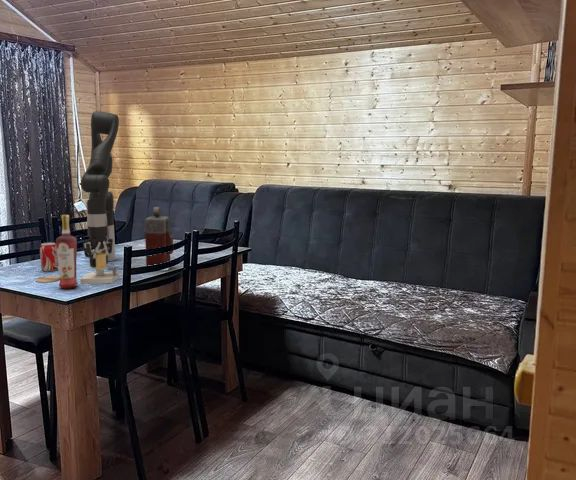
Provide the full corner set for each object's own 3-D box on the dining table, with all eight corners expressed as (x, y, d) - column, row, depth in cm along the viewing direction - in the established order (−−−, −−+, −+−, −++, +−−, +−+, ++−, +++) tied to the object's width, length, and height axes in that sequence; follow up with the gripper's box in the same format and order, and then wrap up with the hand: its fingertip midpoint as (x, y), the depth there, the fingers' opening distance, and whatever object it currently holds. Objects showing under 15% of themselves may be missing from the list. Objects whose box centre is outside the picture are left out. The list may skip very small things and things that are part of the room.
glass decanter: (171, 271, 230) (170, 208, 226) (146, 270, 230) (144, 207, 225) (175, 266, 239) (174, 206, 234) (151, 266, 239) (149, 205, 234)
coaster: (41, 277, 216) (41, 276, 216) (63, 277, 216) (63, 275, 216) (32, 282, 207) (32, 281, 207) (55, 282, 208) (55, 281, 208)
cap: (104, 265, 216) (103, 251, 215) (110, 268, 209) (109, 254, 208) (90, 266, 212) (89, 252, 211) (95, 270, 206) (94, 255, 205)
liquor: (81, 285, 204) (78, 214, 200) (74, 289, 196) (71, 216, 192) (62, 285, 204) (59, 214, 200) (54, 289, 196) (51, 215, 192)
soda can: (52, 272, 225) (50, 245, 223) (37, 271, 226) (35, 244, 224) (62, 269, 232) (60, 242, 230) (48, 268, 233) (46, 242, 231)
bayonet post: (89, 276, 218) (89, 260, 217) (119, 276, 219) (119, 260, 218) (80, 283, 206) (79, 266, 205) (112, 283, 207) (111, 266, 206)
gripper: (90, 227, 201) (92, 270, 203) (117, 223, 213) (119, 263, 216) (76, 226, 204) (78, 268, 207) (103, 221, 217) (105, 261, 219)
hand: (99, 265), depth 211 cm, fingers closed on cap, 5 cm apart
